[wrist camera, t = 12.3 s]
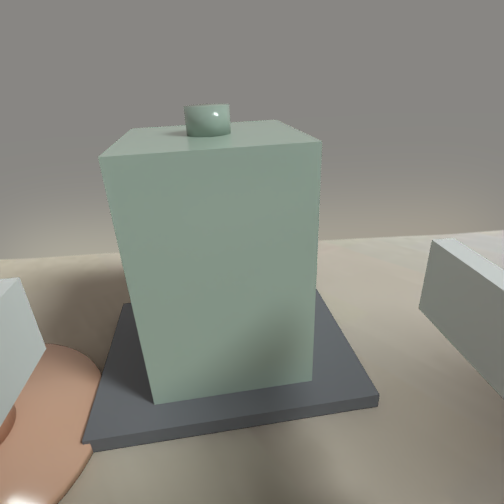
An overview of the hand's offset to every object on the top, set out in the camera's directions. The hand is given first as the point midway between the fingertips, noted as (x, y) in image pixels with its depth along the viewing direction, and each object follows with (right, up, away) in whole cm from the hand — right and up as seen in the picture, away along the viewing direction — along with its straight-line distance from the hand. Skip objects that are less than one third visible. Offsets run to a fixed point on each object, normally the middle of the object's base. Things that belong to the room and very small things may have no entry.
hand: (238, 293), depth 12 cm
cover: (-1, -4, +10) cm, 11 cm away
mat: (-1, -5, +10) cm, 11 cm away
